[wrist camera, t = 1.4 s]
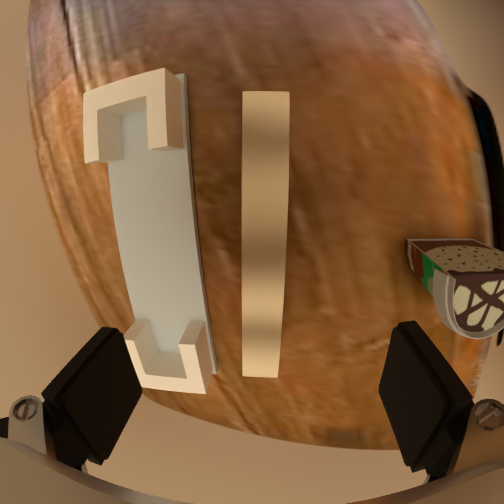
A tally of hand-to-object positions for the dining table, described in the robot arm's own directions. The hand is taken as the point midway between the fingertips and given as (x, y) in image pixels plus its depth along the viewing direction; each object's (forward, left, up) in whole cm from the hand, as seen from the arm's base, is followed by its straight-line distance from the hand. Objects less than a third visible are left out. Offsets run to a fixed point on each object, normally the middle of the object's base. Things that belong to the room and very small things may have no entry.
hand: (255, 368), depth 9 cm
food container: (+4, +18, -17) cm, 25 cm away
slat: (0, 0, -17) cm, 17 cm away
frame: (0, -10, -17) cm, 19 cm away
